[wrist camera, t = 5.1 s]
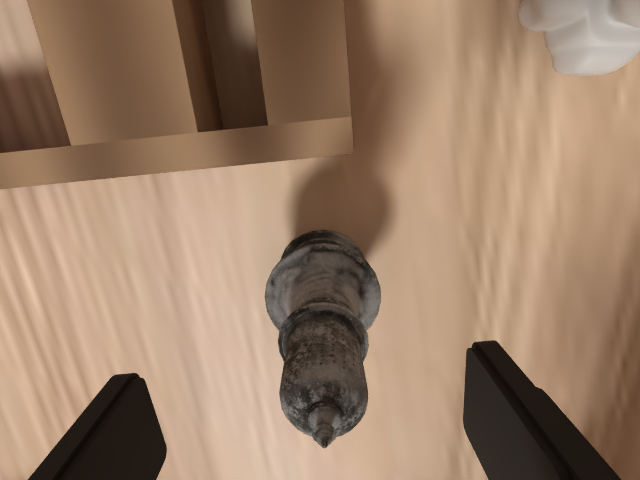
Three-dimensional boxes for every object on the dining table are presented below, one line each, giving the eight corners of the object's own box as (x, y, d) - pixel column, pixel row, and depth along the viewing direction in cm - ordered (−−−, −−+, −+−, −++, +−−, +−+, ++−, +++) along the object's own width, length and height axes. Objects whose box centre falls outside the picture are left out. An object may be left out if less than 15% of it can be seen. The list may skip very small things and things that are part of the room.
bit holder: (328, -104, 15) (331, -186, 11) (347, 149, 18) (353, 153, 14) (-140, -45, 16) (-287, -103, 12) (-42, 189, 19) (-134, 202, 15)
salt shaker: (325, 204, 19) (330, 306, 8) (390, 274, 20) (480, 451, 9) (254, 270, 20) (167, 442, 9) (320, 331, 22) (319, 553, 10)
